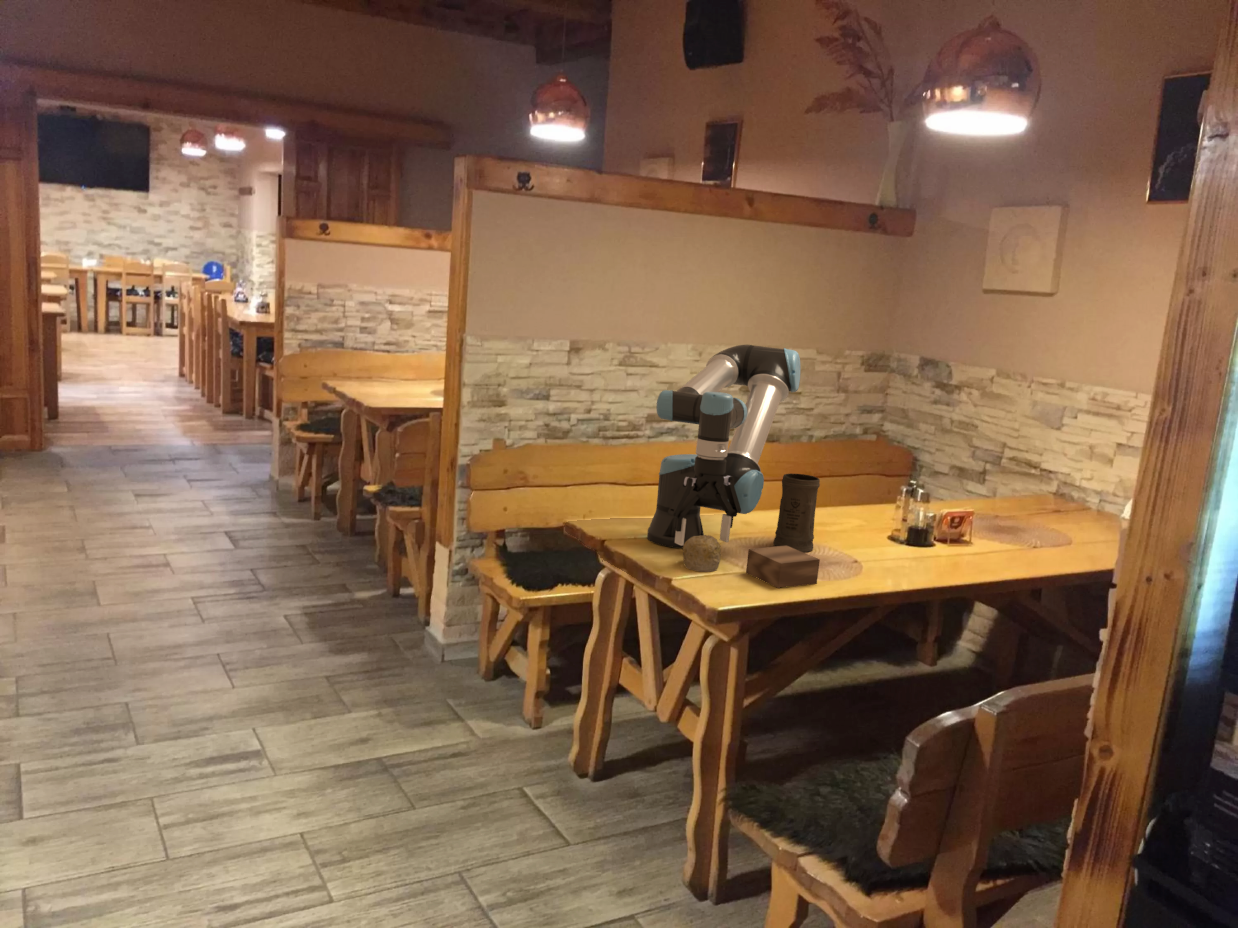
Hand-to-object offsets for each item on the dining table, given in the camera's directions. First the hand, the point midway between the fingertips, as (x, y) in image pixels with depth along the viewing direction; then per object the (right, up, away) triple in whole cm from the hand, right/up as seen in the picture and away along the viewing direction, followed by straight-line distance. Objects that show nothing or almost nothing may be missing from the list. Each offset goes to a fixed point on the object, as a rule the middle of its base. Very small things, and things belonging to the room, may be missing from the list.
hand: (701, 542), depth 237 cm
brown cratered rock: (0, -6, +2) cm, 6 cm away
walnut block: (+19, -8, -3) cm, 21 cm away
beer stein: (+27, -3, +29) cm, 40 cm away
